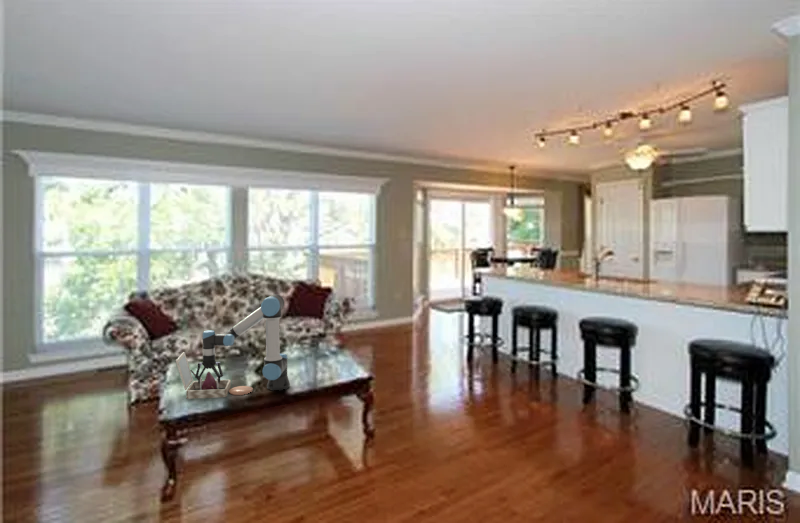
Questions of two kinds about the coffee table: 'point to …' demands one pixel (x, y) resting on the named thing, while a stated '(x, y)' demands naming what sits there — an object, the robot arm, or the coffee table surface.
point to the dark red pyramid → (209, 383)
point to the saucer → (240, 390)
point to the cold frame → (207, 393)
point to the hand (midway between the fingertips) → (209, 387)
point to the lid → (184, 370)
